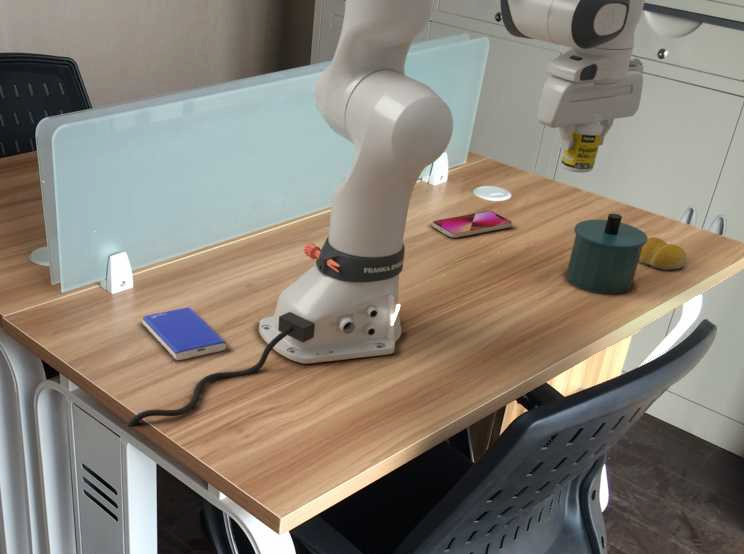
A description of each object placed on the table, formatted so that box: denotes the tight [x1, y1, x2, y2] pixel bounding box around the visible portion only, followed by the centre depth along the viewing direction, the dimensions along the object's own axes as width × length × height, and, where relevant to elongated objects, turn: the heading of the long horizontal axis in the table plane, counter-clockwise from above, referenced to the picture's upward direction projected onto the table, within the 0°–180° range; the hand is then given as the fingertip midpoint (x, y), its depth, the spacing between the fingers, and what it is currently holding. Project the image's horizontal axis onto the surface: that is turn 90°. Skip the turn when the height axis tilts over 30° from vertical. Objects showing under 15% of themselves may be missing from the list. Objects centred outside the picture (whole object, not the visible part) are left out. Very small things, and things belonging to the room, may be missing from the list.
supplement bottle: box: [560, 113, 603, 174], centre depth 161 cm, size 5×5×10 cm
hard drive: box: [142, 307, 227, 361], centre depth 144 cm, size 2×8×12 cm
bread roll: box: [638, 236, 687, 271], centre depth 175 cm, size 8×9×4 cm
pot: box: [565, 234, 643, 295], centre depth 165 cm, size 11×11×8 cm
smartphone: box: [431, 210, 513, 238], centre depth 187 cm, size 7×1×15 cm
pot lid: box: [573, 213, 648, 249], centre depth 162 cm, size 12×12×4 cm
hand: (581, 147), depth 162 cm, fingers closed on supplement bottle, 5 cm apart
